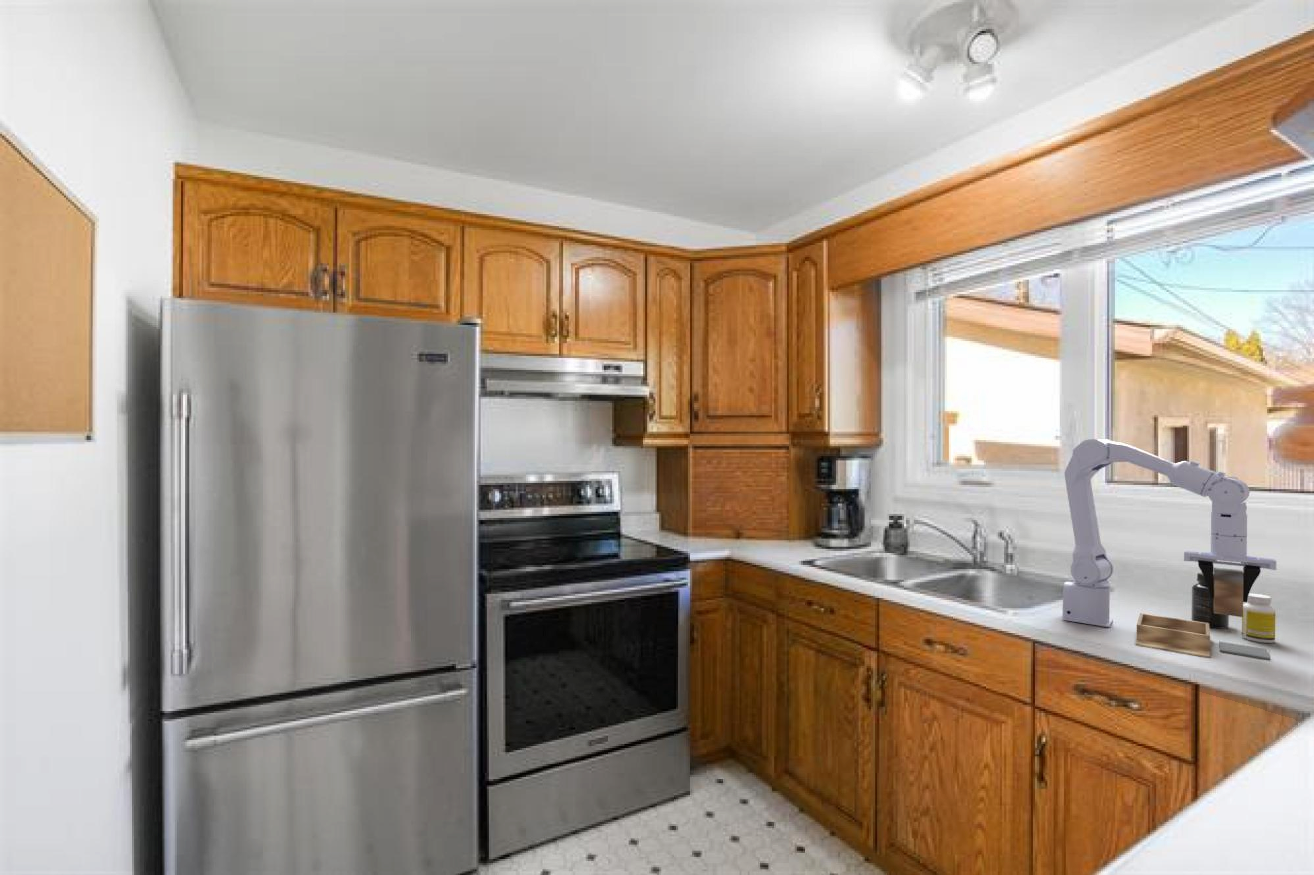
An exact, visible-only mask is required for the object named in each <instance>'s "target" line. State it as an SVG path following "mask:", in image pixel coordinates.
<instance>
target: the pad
mask: <svg viewBox="0 0 1314 875" xmlns="http://www.w3.org/2000/svg"><path fill="white" fill-rule="evenodd" d="M1218 646H1219V652H1220V653H1223V654H1224V653H1225V654H1230V655H1231V654H1232V655H1238V656H1243V657H1249V658H1254V659H1260V660H1267V661H1271V660H1270V659H1271V658H1270V656H1269V655H1270V654H1269V652H1268V649H1267V648H1263V647H1257V646H1251V645H1245V644H1244V645H1243V644H1238V643H1231V642H1226V641H1218Z"/></svg>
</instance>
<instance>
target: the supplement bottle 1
mask: <svg viewBox="0 0 1314 875" xmlns="http://www.w3.org/2000/svg"><path fill="white" fill-rule="evenodd" d="M1196 581H1197V583H1195V584H1194V585H1192V587H1191V621H1197V622H1204V623H1209V628H1213V629H1227V628H1229V625H1230V624H1229V623H1230V615H1223V614H1216V613H1214V598H1210V592H1209V588H1208V585H1207V582H1206V580H1205V578H1204V575H1203V573H1202V572H1198V573H1197V576H1196ZM1213 585H1214V573H1213Z"/></svg>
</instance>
